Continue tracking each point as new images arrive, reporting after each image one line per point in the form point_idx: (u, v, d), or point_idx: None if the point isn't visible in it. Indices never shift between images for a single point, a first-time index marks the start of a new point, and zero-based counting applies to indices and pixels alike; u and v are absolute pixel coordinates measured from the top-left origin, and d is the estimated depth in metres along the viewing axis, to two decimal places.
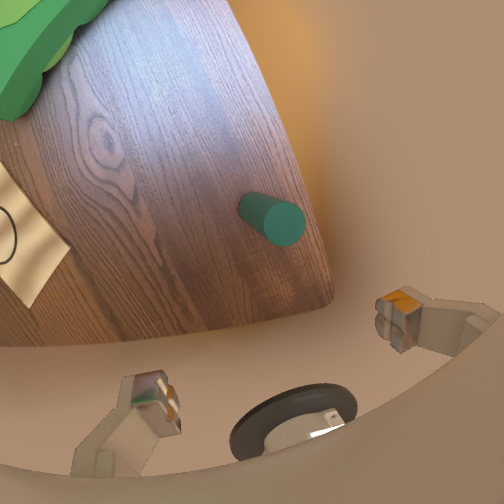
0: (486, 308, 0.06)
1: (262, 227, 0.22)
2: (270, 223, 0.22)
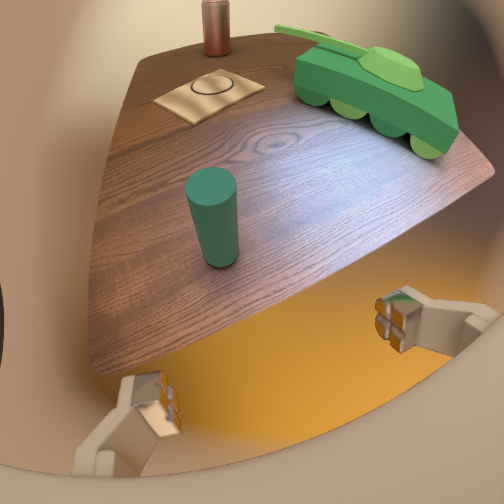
0: (486, 308, 0.06)
1: None
2: (212, 172, 0.20)
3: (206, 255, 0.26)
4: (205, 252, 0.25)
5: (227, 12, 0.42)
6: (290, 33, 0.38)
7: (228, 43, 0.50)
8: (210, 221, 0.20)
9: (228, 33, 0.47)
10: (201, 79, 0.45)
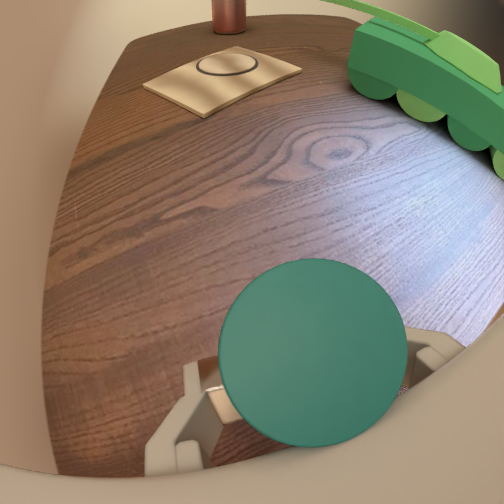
0: (446, 340, 0.06)
1: None
2: (318, 285, 0.05)
3: None
4: None
5: None
6: (335, 1, 0.23)
7: (244, 18, 0.35)
8: None
9: (244, 5, 0.33)
10: (211, 57, 0.30)
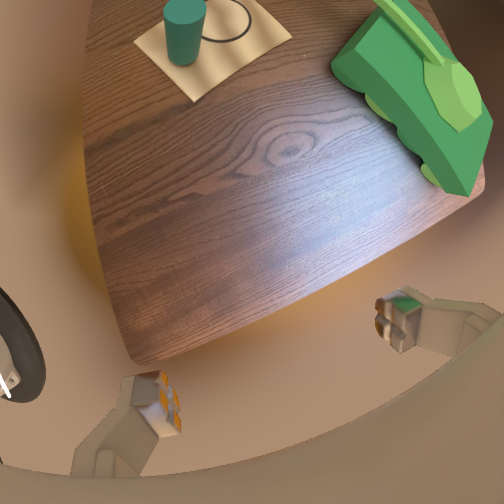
0: (486, 309, 0.06)
1: None
2: None
3: (171, 56, 0.23)
4: (170, 54, 0.23)
5: None
6: None
7: None
8: (180, 34, 0.18)
9: None
10: None
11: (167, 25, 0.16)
